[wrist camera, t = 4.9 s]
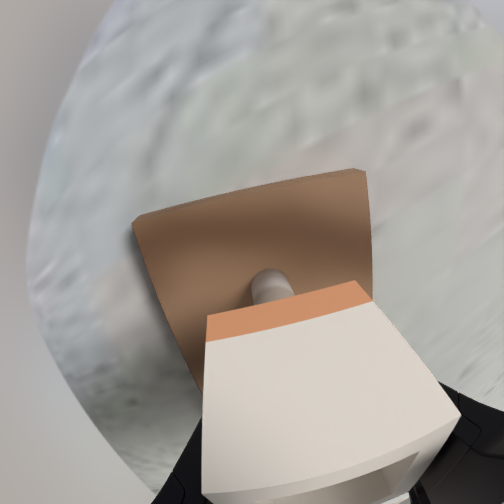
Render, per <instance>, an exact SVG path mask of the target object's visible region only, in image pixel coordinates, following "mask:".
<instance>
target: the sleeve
mask: <svg viewBox="0 0 504 504" xmlns="http://www.w3.org/2000/svg"><path fill="white" fill-rule="evenodd" d="M460 417H461V413H460V412H459V411H458V409H457V408H456V406H455V405H454V404H453V402H452V401H451V399H450V398H449V397H448V395H447V394H446V392H445V391H444V390H443V388H442V387H441V386H440V384H439V383H438V382H437V380H436V379H435V378H434V376H433V375H432V374H431V372H430V371H429V370H428V368H427V367H426V366H425V364H424V363H423V362H422V361H421V359H420V358H419V357H418V355H417V354H416V353H415V352H414V350H413V349H412V348H411V347H410V345H409V344H408V343H407V342H406V340H405V339H404V338H403V337H402V335H401V334H400V333H399V332H398V330H397V329H396V328H395V327H394V326H393V324H392V323H391V322H390V321H389V319H388V318H387V317H386V316H385V315H384V313H383V312H382V311H381V310H380V309H379V307H378V306H377V305H376V304H375V303H374V302H373V300H372V299H371V298H370V297H369V296H368V295H367V293H366V292H365V291H364V290H363V289H362V288H361V286H360V285H359V284H358V283H357V282H356V281H355V280H354V281H350V282H346V283H343V284H339V285H335V286H331V287H328V288H324V289H320V290H316V291H312V292H308V293H304V294H300V295H296V296H292V297H288V298H284V299H280V300H275V301H271V302H267V303H263V304H258V305H254V306H249V307H245V308H240V309H236V310H231V311H226V312H221V313H217V314H212V315H207V330H206V346H205V365H204V387H203V415H202V494H203V495H204V496H205V497H206V498H207V499H208V500H210V501H211V502H212V503H213V504H381V503H383V502H386V501H388V500H391V499H393V498H395V497H398V496H400V495H402V494H404V493H406V492H408V491H410V489H411V488H412V487H413V486H414V484H415V483H416V482H417V481H418V479H419V478H420V477H421V476H422V474H423V473H424V472H425V470H426V469H427V468H428V466H429V465H430V464H431V462H432V461H433V459H434V458H435V456H436V455H437V454H438V452H439V451H440V449H441V448H442V446H443V445H444V443H445V442H446V440H447V438H448V437H449V435H450V434H451V432H452V430H453V429H454V427H455V425H456V424H457V422H458V420H459V418H460Z"/></svg>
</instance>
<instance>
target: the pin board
mask: <svg viewBox="0 0 504 504" xmlns="http://www.w3.org/2000/svg"><path fill="white" fill-rule="evenodd" d="M132 227H133V230H134V233H135V236H136V239H137V242H138V245H139V248H140V251H141V253H142V256H143V259H144V262H145V265H146V267H147V270H148V273H149V276H150V278H151V281H152V283H153V286H154V289H155V291H156V294H157V296H158V299H159V301H160V304H161V306H162V309H163V311H164V314H165V316H166V318H167V321H168V323H169V325H170V328H171V330H172V332H173V335H174V337H175V339H176V341H177V343H178V346H179V348H180V350H181V352H182V354H183V357H184V359H185V361H186V363H187V365H188V367H189V369H190V371H191V373H192V375H193V377H194V379H195V381H196V383H197V385H198V387H199V389H200V391H201V393H202V395H203V387H204V365H205V346H206V330H207V315H212V314H217V313H221V312H226V311H231V310H236V309H240V308H245V307H249V306H254V305H258V304H263V303H267V302H271V301H275V300H280V299H284V298H288V297H292V296H296V295H300V294H304V293H308V292H312V291H316V290H320V289H324V288H328V287H331V286H335V285H339V284H343V283H346V282H350V281H354V280H355V281H356V282H357V283H358V284H359V285H360V286H361V288H362V289H363V290H364V291H365V292H366V293H367V295H368V296H369V297H370V298H371V299H372V244H371V225H370V211H369V199H368V189H367V179H366V171H362V170H358V169H354V168H353V169H347V170H341V171H335V172H329V173H323V174H317V175H312V176H306V177H301V178H296V179H290V180H285V181H280V182H275V183H270V184H266V185H261V186H256V187H252V188H247V189H242V190H238V191H234V192H229V193H225V194H221V195H216V196H212V197H208V198H204V199H200V200H196V201H192V202H188V203H184V204H180V205H176V206H173V207H169V208H165V209H162V210H158V211H154V212H151V213H147V214H144V215H140V216H139V217H137V218H136V219H135V220H134V221H133V222H132Z"/></svg>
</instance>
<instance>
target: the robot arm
mask: <svg viewBox="0 0 504 504" xmlns="http://www.w3.org/2000/svg"><path fill="white" fill-rule="evenodd" d="M437 382H438V383H439V384H440V386H441V387H442V388H443V390H444V391H445V392H446V394H447V395H448V397H449V398H450V399H451V401H452V402H453V404H454V405H455V406H456V408H457V409H458V411H459V412H460V413H461V417H460V418H459V420H458V422H457V424H456V425H455V427H454V429H453V430H452V432H451V434H450V435H449V437H448V438H447V440H446V442H445V443H444V445H443V446H442V448H441V449H440V451H439V452H438V454H437V455H436V456H435V458H434V459H433V461H432V462H431V464H430V465H429V466H428V468H427V469H426V470H425V472H424V473H423V474H422V476H421V477H420V478H419V479H418V481H417V482H416V483H415V484H414V486H413V487H412V488H411V489H410V491H409V497H410V503H411V504H504V412H503V411H500V410H498V409H495V408H492V407H489V406H487V405H484V404H482V403H480V402H477V401H475V400H473V399H471V398H469V397H467V396H465V395H463V394H461V393H458V392H457V391H455V390H454V389H452V388H450V387H448V386H446V385H444V384H442V383H440V382H439V381H437ZM172 471H173V472H171V474H170V476H169V477H168V479H167V481H166V482H165V484H164V486H163V487H162V489H161V491H160V492H159V493H158V495H157V496H156V498H155V499H154V500H153V502H152V503H151V504H213V503H212V502H211V501H210V500H208V499H207V498H206V497H205V496H204V495H203V494H202V417H201V419H200V421H199V423H198V425H197V427H196V428H195V430H194V432H193V434H192V436H191V438H190V440H189V441H188V443H187V445H186V447H185V449H184V451H183V452H182V454H181V456H180V458H179V460H178V461H177V463H176V465H175V467H174V469H173V470H172Z"/></svg>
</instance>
